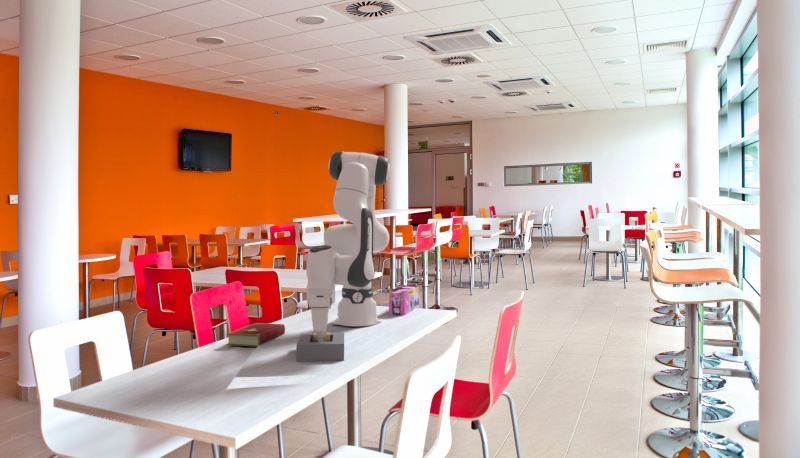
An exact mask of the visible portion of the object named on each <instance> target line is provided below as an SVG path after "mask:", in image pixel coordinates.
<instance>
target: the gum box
mask: <svg viewBox="0 0 800 458" xmlns="http://www.w3.org/2000/svg"><path fill="white" fill-rule="evenodd" d="M388 291H389V293H388V315H389V316H393V314H394V315H395V316H406V315H407V314H409V313H411V312H413V311H414V310H415V309H417V308H419V306H420V285H414V284H413V285H410V284H409V285H407V284H406V285H401V286H398V287H394V288H392V289H389V290H388Z"/></svg>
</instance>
